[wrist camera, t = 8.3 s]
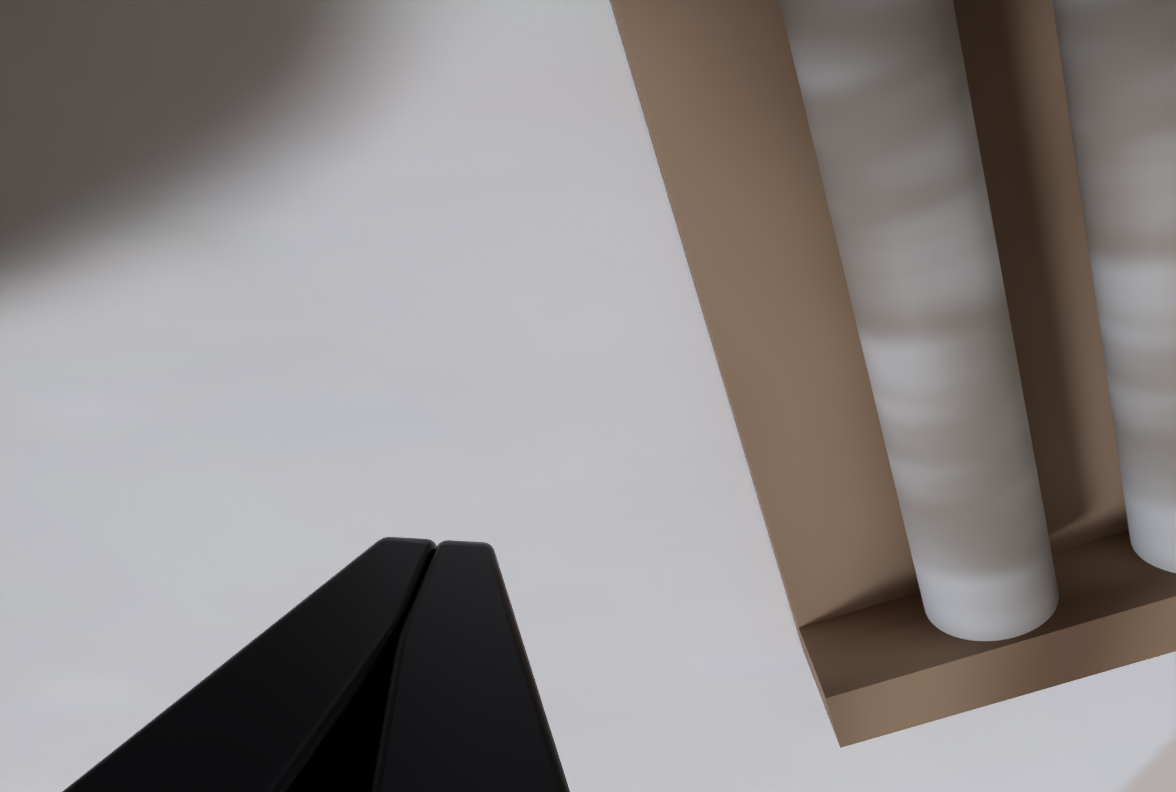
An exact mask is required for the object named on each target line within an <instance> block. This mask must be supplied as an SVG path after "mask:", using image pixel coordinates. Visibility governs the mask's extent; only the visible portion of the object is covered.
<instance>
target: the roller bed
mask: <svg viewBox="0 0 1176 792" xmlns="http://www.w3.org/2000/svg"><path fill="white" fill-rule="evenodd" d="M610 3H611V6H612V9H613V13H614V16H615V19H616V23H617V26H618V29H619V33H620V36H621V40H622V43H623V46H624V50H625V53H626V56H627V60H628V63H629V66H630V70H631V73H632V77H633V80H634V83H635V87H636V90H637V93H638V97H639V100H640V103H641V107H642V110H643V113H644V117H645V120H646V124H647V127H648V130H649V134H650V137H651V140H652V144H653V147H654V150H655V154H656V157H657V161H658V164H659V167H660V171H661V174H662V177H663V181H664V184H665V187H666V191H667V194H668V198H669V201H670V204H671V208H672V211H673V214H674V218H675V221H676V224H677V228H678V231H679V235H680V238H681V241H682V245H683V248H684V251H685V255H686V258H687V261H688V265H689V268H690V271H691V275H692V278H693V282H694V285H695V288H696V292H697V295H698V298H699V302H700V305H701V308H702V312H703V315H704V319H705V322H706V325H707V329H708V332H709V335H710V339H711V342H712V345H713V349H714V352H715V356H716V359H717V362H718V366H719V369H720V372H721V376H722V379H723V382H724V386H725V389H726V392H727V396H728V399H729V403H730V406H731V409H732V413H733V416H734V419H735V423H736V426H737V429H738V433H739V436H740V440H741V443H742V446H743V450H744V453H745V456H746V460H747V463H748V466H749V470H750V473H751V477H752V480H753V483H754V487H755V490H756V493H757V497H758V500H759V503H760V507H761V510H762V513H763V517H764V520H765V524H766V527H767V530H768V534H769V537H770V540H771V544H772V547H773V550H774V554H775V557H776V561H777V564H778V567H779V571H780V574H781V577H782V581H783V584H784V587H785V591H786V594H787V598H788V601H789V604H790V608H791V611H792V614H793V618H794V621H795V624H796V628H797V631H798V634H799V638H800V641H801V645H802V648H803V651H804V654H805V656H806V659H807V662H808V664H809V667H810V669H811V672H812V675H813V677H814V680H815V682H816V685H817V688H818V690H819V693H820V695H821V698H822V701H823V703H824V706H825V709H826V711H827V714H828V716H829V719H830V722H831V724H832V727H833V729H834V732H835V735H836V737H837V740H838V742H839V745H840V748H841V747H844V746H848V745H851V744H855V743H858V742H862V741H865V740H869V739H872V738H875V737H879V736H882V735H886V734H889V733H893V732H896V731H900V730H903V729H907V728H910V727H914V726H917V725H921V724H924V723H928V722H931V721H934V720H938V719H941V718H945V717H948V716H952V715H955V714H959V713H962V712H966V711H969V710H973V709H976V708H980V707H983V706H987V705H990V704H993V703H997V702H1000V701H1004V700H1007V699H1011V698H1014V697H1018V696H1021V695H1025V694H1028V693H1032V692H1035V691H1039V690H1042V689H1046V688H1049V687H1052V686H1056V685H1059V684H1063V683H1066V682H1070V681H1073V680H1077V679H1080V678H1084V677H1087V676H1091V675H1094V674H1098V673H1101V672H1105V671H1108V670H1111V669H1115V668H1118V667H1122V666H1125V665H1129V664H1132V663H1136V662H1139V661H1143V660H1146V659H1150V658H1153V657H1157V656H1160V655H1164V654H1167V653H1170V652H1174V651H1176V0H610Z"/></svg>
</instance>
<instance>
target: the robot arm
mask: <svg viewBox="0 0 1176 792" xmlns="http://www.w3.org/2000/svg"><path fill="white" fill-rule="evenodd" d="M63 792H570V791H569V787H568V784H567V781H566V778H565V775H564V772H563V768H562V765H561V762H560V759H559V756H558V752H557V749H556V746H555V743H554V740H553V737H552V733H551V730H550V727H549V724H548V721H547V717H546V714H545V711H544V708H543V705H542V701H541V698H540V695H539V692H538V689H537V686H536V682H535V679H534V676H533V673H532V670H531V666H530V663H529V660H528V657H527V654H526V650H525V647H524V644H523V641H522V638H521V635H520V631H519V628H518V625H517V622H516V619H515V615H514V612H513V609H512V606H511V603H510V600H509V596H508V593H507V590H506V587H505V584H504V580H503V577H502V574H501V571H500V568H499V564H498V561H497V558H496V555H495V552H494V549H493V548H492V546H491V545H489V544H488V543H484V542H467V541H449V540H448V541H443V542H441V543H439V545H438V546H436V544H435V543H434V542H433V541H432V540H429V539H416V538H400V537H386V538H383V539H381V540H379V541H378V542H376V543H375V544H374V545H372V546H371V547H370V548H369V549H367V550H366V551H365V552H364V553H362V554H361V555H360V556H358V557H357V558H356V559H355V560H353V561H352V562H351V563H350V564H348V565H347V566H346V567H345V568H343V569H342V570H341V571H340V572H338V573H337V574H336V575H335V576H333V577H332V578H331V579H330V580H328V581H327V582H326V583H325V584H323V585H322V586H321V587H319V588H318V589H317V590H316V591H314V592H313V593H312V594H311V595H309V596H308V597H307V598H306V599H304V600H303V601H302V602H301V603H299V604H298V605H297V606H296V607H294V608H293V609H292V610H291V611H289V612H288V613H287V614H285V615H284V616H283V617H282V618H280V619H279V620H278V621H277V622H275V623H274V624H273V625H272V626H270V627H269V628H268V629H267V630H265V631H264V632H263V633H262V634H260V635H259V636H258V637H257V638H255V639H254V640H253V641H252V642H250V643H249V644H248V645H246V646H245V647H244V648H243V649H241V650H240V651H239V652H238V653H236V654H235V655H234V656H233V657H231V658H230V659H229V660H228V661H226V662H225V663H224V664H223V665H221V666H220V667H219V668H218V669H216V670H215V671H214V672H212V673H211V674H210V675H209V676H207V677H206V678H205V679H204V680H202V681H201V682H200V683H199V684H197V685H196V686H195V687H194V688H192V689H191V690H190V691H189V692H187V693H186V694H185V695H184V696H182V697H181V698H180V699H178V700H177V701H176V702H175V703H173V704H172V705H171V706H170V707H168V708H167V709H166V710H165V711H163V712H162V713H161V714H160V715H158V716H157V717H156V718H155V719H153V720H152V721H151V722H150V723H148V724H147V725H146V726H145V727H143V728H142V729H141V730H139V731H138V732H137V733H136V734H134V735H133V736H132V737H131V738H129V739H128V740H127V741H126V742H124V743H123V744H122V745H121V746H119V747H118V748H117V749H116V750H114V751H113V752H112V753H111V754H109V755H108V756H107V757H105V758H104V759H103V760H102V761H100V762H99V763H98V764H97V765H95V766H94V767H93V768H92V769H90V770H89V771H88V772H87V773H85V774H84V775H83V776H82V777H80V778H79V779H78V780H77V781H75V782H74V783H73V784H71V785H70V786H69V787H68V788H66V789H65V790H64V791H63Z"/></svg>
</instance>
